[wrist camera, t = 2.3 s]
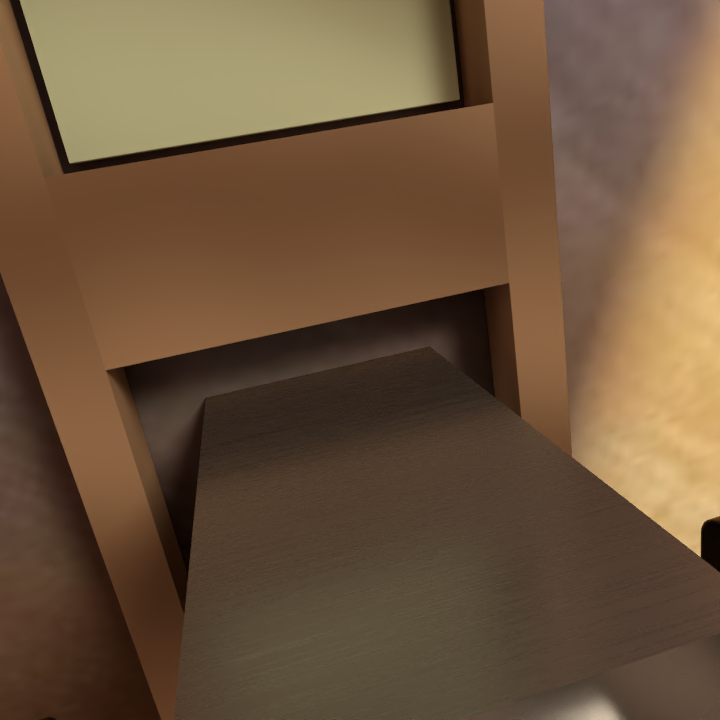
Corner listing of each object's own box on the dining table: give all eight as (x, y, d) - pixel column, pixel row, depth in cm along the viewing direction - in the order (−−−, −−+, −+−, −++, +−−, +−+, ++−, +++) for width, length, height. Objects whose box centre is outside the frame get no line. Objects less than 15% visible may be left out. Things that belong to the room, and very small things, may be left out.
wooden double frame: (554, 590, 14) (582, 624, 13) (178, 705, 13) (174, 754, 12) (468, -497, 8) (506, -603, 7) (-237, -498, 7) (-323, -628, 6)
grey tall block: (455, 535, 13) (806, 1068, 5) (257, 590, 13) (312, 1303, 5) (429, 346, 12) (854, 676, 4) (205, 397, 11) (154, 931, 3)
